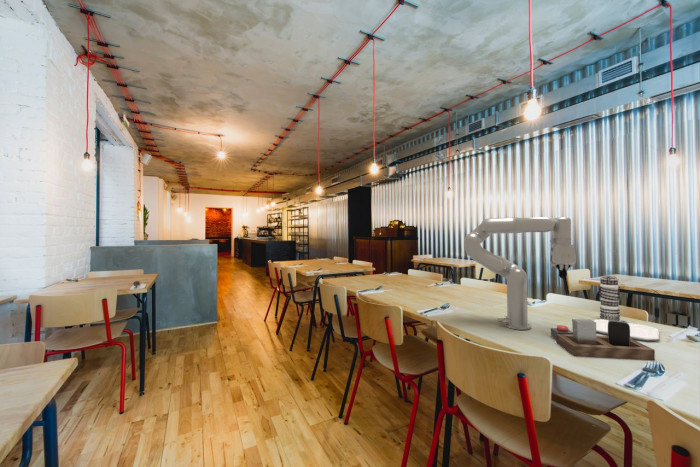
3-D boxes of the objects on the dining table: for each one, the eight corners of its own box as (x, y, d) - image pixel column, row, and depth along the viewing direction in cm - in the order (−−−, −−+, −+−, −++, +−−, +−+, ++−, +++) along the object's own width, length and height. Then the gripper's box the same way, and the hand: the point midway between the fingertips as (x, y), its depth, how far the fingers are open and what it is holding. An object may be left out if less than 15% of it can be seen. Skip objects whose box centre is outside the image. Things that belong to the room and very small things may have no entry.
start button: (559, 331, 140) (559, 327, 140) (555, 328, 145) (554, 325, 145) (570, 331, 139) (570, 328, 139) (565, 328, 144) (565, 325, 144)
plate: (594, 321, 168) (594, 317, 168) (658, 331, 150) (658, 327, 150) (588, 332, 150) (588, 328, 150) (659, 345, 133) (659, 340, 133)
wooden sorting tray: (574, 356, 123) (573, 325, 123) (556, 342, 138) (556, 315, 138) (654, 360, 118) (654, 328, 118) (627, 345, 132) (626, 317, 132)
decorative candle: (600, 317, 175) (599, 274, 175) (621, 320, 168) (621, 275, 168) (597, 320, 168) (596, 276, 168) (619, 324, 162) (618, 277, 162)
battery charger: (629, 348, 126) (628, 320, 126) (630, 351, 123) (630, 323, 123) (607, 344, 130) (606, 318, 130) (608, 347, 127) (607, 320, 127)
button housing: (558, 341, 139) (557, 332, 139) (550, 336, 146) (550, 327, 146) (575, 342, 138) (574, 333, 138) (567, 336, 145) (566, 328, 145)
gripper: (549, 242, 150) (550, 278, 150) (583, 241, 147) (583, 279, 148) (542, 241, 158) (543, 276, 158) (574, 241, 155) (575, 276, 155)
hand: (562, 277), depth 153 cm, fingers closed
